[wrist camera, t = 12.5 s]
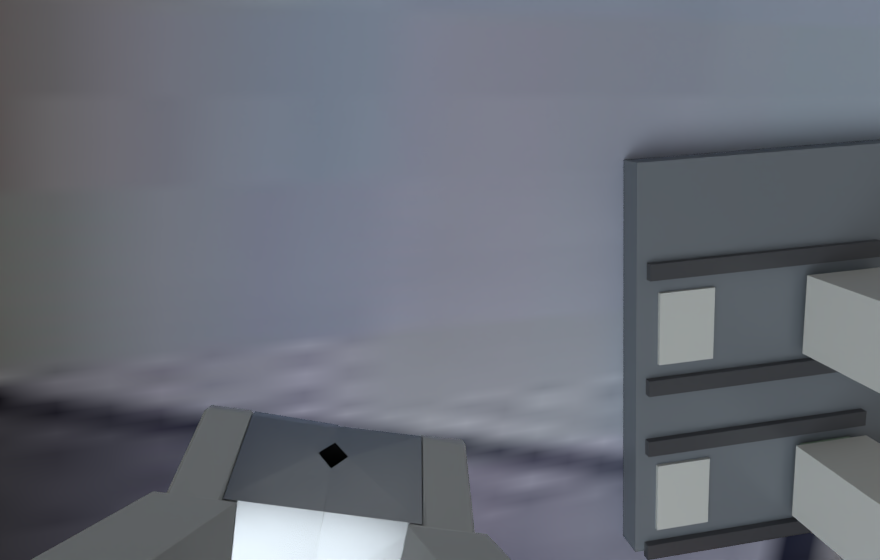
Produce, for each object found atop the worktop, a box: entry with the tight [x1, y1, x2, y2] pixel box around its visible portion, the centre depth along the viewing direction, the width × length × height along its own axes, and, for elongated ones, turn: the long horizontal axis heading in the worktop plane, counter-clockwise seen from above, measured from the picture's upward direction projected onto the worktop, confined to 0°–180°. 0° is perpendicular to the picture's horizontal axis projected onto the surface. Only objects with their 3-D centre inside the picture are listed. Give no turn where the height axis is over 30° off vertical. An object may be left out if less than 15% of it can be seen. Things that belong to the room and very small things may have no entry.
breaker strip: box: [623, 140, 880, 560], centre depth 33 cm, size 20×14×13 cm
